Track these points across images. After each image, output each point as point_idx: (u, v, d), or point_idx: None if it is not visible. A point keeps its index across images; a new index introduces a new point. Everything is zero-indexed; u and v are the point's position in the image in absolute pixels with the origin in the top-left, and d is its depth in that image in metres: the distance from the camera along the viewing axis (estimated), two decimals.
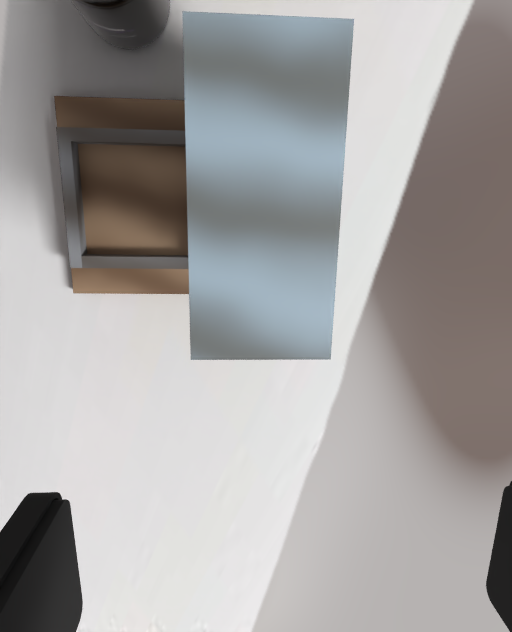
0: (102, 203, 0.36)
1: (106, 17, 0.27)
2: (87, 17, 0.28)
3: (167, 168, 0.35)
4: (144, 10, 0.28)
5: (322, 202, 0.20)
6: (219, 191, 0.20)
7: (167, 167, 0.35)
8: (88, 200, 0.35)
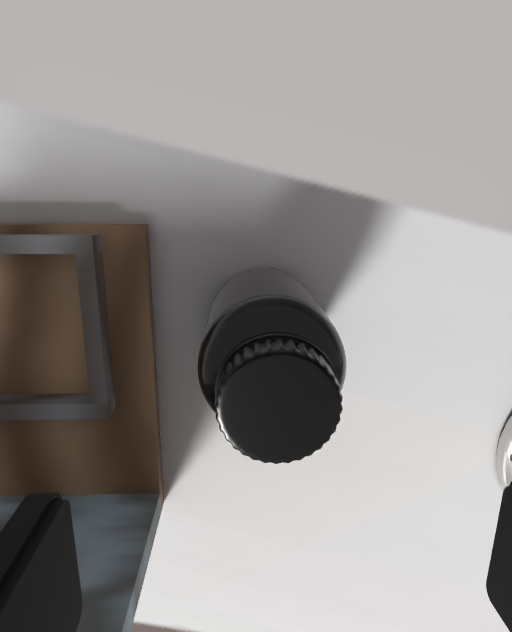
0: (6, 279, 0.25)
1: None
2: (211, 314, 0.21)
3: (67, 367, 0.26)
4: None
5: None
6: None
7: (68, 367, 0.26)
8: (7, 259, 0.24)
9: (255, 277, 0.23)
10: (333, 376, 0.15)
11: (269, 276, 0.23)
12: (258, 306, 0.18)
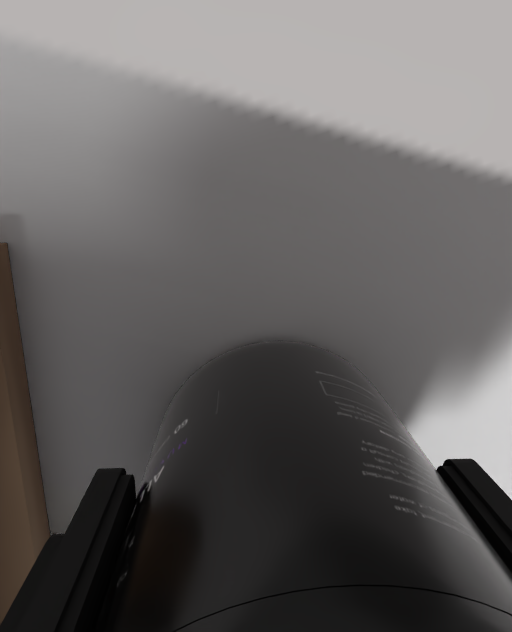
0: None
1: None
2: (133, 521, 0.07)
3: None
4: None
5: None
6: None
7: None
8: None
9: (261, 390, 0.08)
10: None
11: (299, 387, 0.08)
12: None
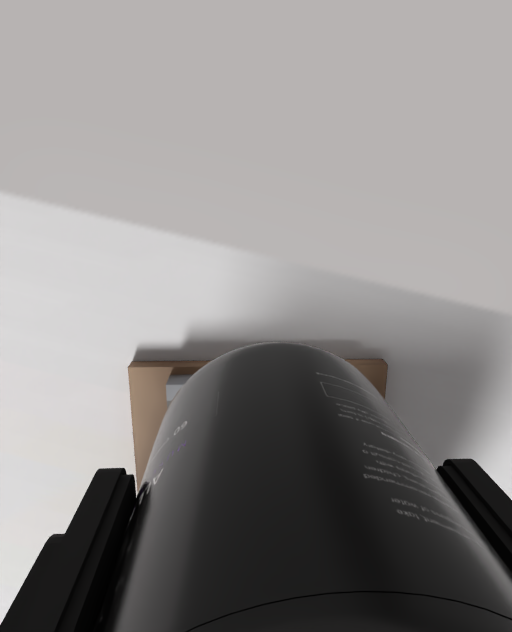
0: None
1: None
2: (132, 524, 0.07)
3: None
4: None
5: None
6: None
7: None
8: None
9: (261, 391, 0.08)
10: None
11: (299, 388, 0.08)
12: None
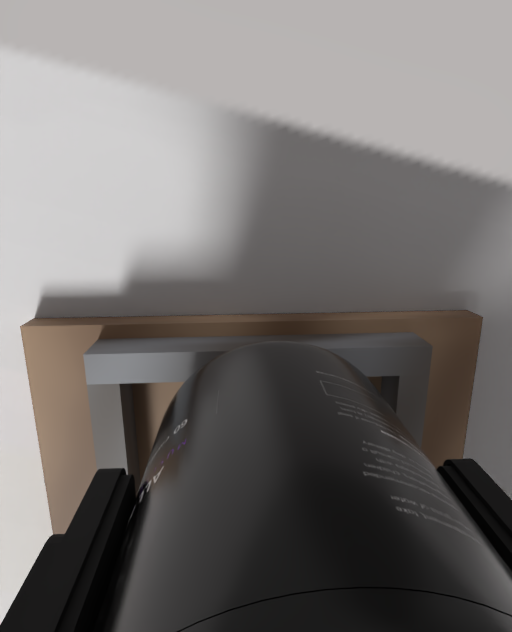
0: None
1: None
2: (132, 521, 0.07)
3: None
4: None
5: None
6: None
7: None
8: None
9: (261, 390, 0.08)
10: None
11: (299, 387, 0.08)
12: None
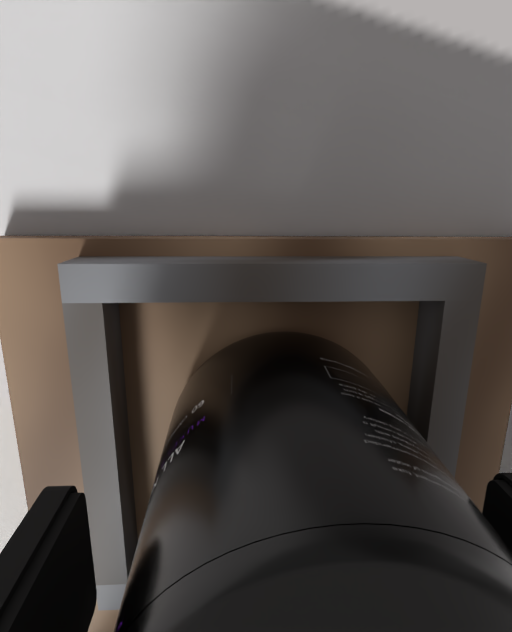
0: None
1: None
2: (158, 487, 0.08)
3: None
4: None
5: None
6: None
7: None
8: (273, 306, 0.12)
9: (272, 373, 0.09)
10: None
11: (306, 371, 0.09)
12: (314, 615, 0.04)
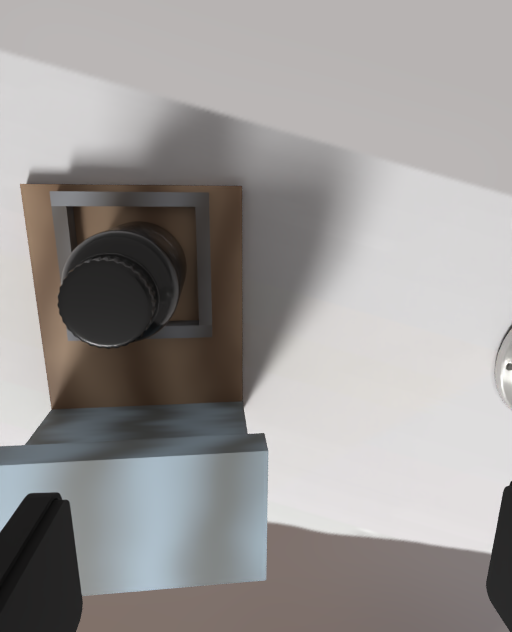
0: None
1: None
2: None
3: None
4: None
5: (105, 578, 0.20)
6: (104, 490, 0.19)
7: None
8: (136, 212, 0.31)
9: (122, 224, 0.28)
10: (143, 280, 0.21)
11: (134, 223, 0.28)
12: (102, 237, 0.23)
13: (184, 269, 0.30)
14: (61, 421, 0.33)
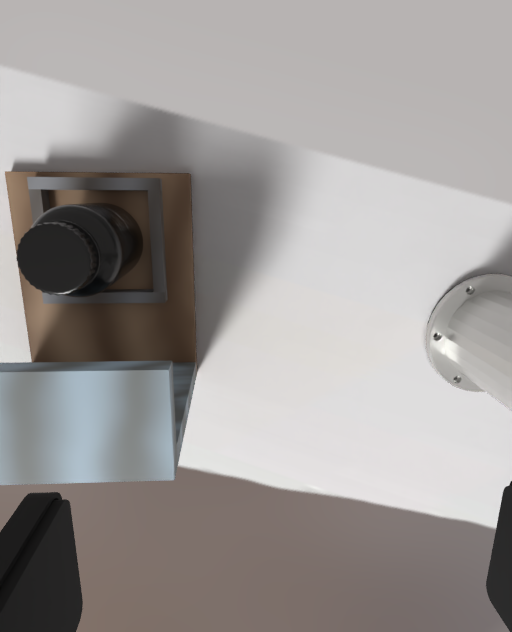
0: None
1: None
2: None
3: (136, 270, 0.39)
4: None
5: (46, 470, 0.26)
6: (42, 396, 0.25)
7: (137, 270, 0.39)
8: (100, 196, 0.37)
9: None
10: (82, 240, 0.27)
11: (93, 203, 0.34)
12: (57, 209, 0.29)
13: (136, 242, 0.35)
14: None
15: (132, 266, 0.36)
